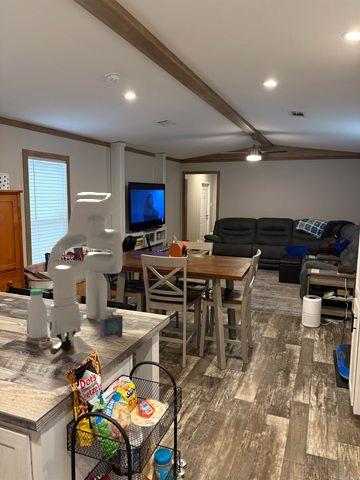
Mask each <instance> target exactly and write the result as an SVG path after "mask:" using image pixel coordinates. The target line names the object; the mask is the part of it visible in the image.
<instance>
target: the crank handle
mask: <svg viewBox="0 0 360 480" xmlns="http://www.w3.org/2000/svg"><path fill="white" fill-rule="evenodd" d="M64 334H65V338H66V333H64ZM74 337H75V335H74V336H73V337H72V339H71V347H70V348H72V347H74ZM61 349H62V348H61V342H60V343H58V344H57V345H56V346H54V347H53V348H52V349H51V350H50V353H51V354H53V355H54V354H56V353H57V352H58V351H60V350H61Z"/></svg>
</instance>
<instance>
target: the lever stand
mask: <svg viewBox="0 0 360 480" xmlns="http://www.w3.org/2000/svg"><path fill="white" fill-rule="evenodd" d="M60 342H61V340H60V339H58V340H54V341H53V340H52V338H51V337H50V336H47V338H46V339H43V340H39V341H38V343H39V344H37V345H36V346H37V347H38V348H39V350H40V351H41V352H42V353H43V355H44V356H45V357H46V358H47V359H48V361H49V362H50V361H54V360H58V359H63V358H65V357H66V358H67V357H70V356H75V355H78V354H81V353H85V352H86V353H87V352H89V351H94V349H93V347H92V346H90V345H89V344H88V343H87V342H86V341H85V340H84V339H83V338H81V337H80V336H78V335H76V336H74V347H72V348H70V351H67V352H65V351H64V350H63V349H61V350H60V351H58V352H57V353H56V354H54V355H53V354H51V353H50V350H51V349H52V348H53V347H54V346H56V345H57V344H58V343H60Z"/></svg>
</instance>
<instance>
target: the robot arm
mask: <svg viewBox="0 0 360 480" xmlns="http://www.w3.org/2000/svg"><path fill="white" fill-rule="evenodd" d="M116 208H117V199H116V197H115V195H114V194H113V193H107V192H80V193H77V194H76V195H75V196H74V203H73V204H72V208H71V213H70V218H69V222H68V228H67V232H66V234H65V235H63V237H60V239H59V240H58V241H57V242H56V243H55V244H54V246H53V248H52V249H51V250H50V253H49V257H48V262H47V266H46V267H47V268H46V272H47V273H46V274H47V277H48V278H49V279H50V280H52V292H53V293H52V294H53V296H52V297H53V303H52V304H51V305H50V309H49V317H48V318H49V319H48V321H49V322H48V329H49V330H48V331H49V332H50V333H49V337H50V339H58V340H61V348H62V349H63V350H64V351H65V352H67V351H70V347H71V339H72V337H73V336H74V337H75V335H76V334H77V333H79V332H81V326H82V320H81V312H80V305H79V303H78V300H79V299H80V298H81V295H79V294H77V283H80V282H82V281H84V280H85V313H84V314H83V315H82V319H87V318H88V319H89V320H94V321H95V322H97V323H99V324H101V318H104V317H109V315H110V312H113V313H116V312H117V308H116V307H113V308H112V307H108V306H107V305H108V304H107V303H108V283H107V279H106V277H105V275H103V274H118V273H121V271H122V269H123V241H122V235H121V232H120V231H119V230H117V229H106V224H105V222H106V221H108V220H109V219H110V218H111V216H113V214H114V212H115V210H116ZM85 242H86V247H87V249H90V250H92V251H91V252H87V253H86V254H85V255H84V257H83V260H70V259H69V260H68V259H61V257H62V256H63V254H64V253H65V252H66V251H68V250H70V249H71V248H73V247H76V246H79V245H81V244H84V243H85ZM93 250H94V251H93ZM102 251H103V252H102ZM106 251H108V252H106ZM64 333H66V338H65V334H64Z"/></svg>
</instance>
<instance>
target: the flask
mask: <svg viewBox="0 0 360 480" xmlns="http://www.w3.org/2000/svg"><path fill="white" fill-rule="evenodd" d="M113 313H114V312H110V315H109V317H104V318H101V322H100V337H102V338H105V337H109V336H116V337H118V338H122V337H123V321H124V319H123V315H122V314H113Z"/></svg>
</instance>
